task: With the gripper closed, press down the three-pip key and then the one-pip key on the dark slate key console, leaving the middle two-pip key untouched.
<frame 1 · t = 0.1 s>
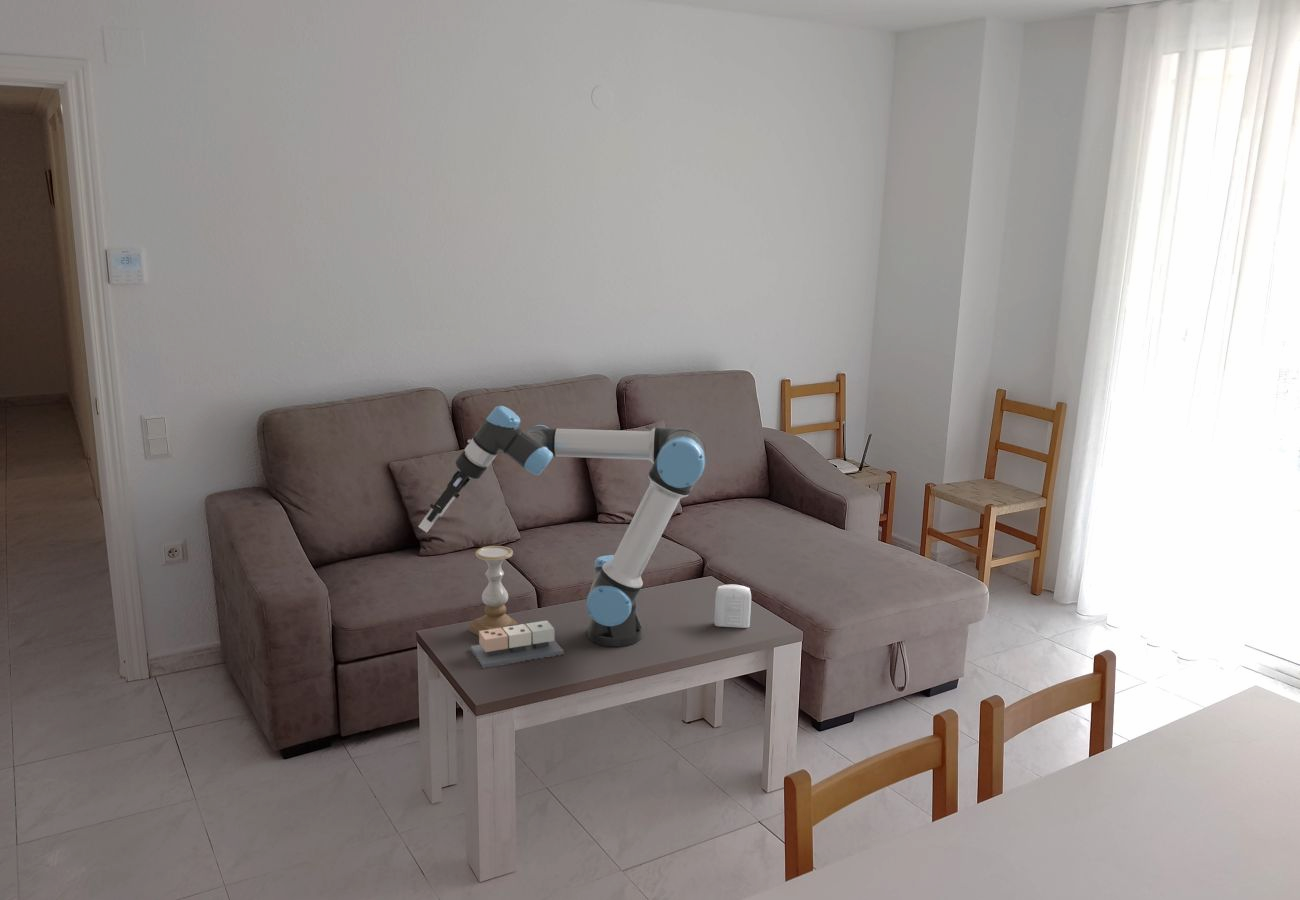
hand: (430, 521, 267), 36 cm above the table, tool tilted 35°, fingers open, 13 cm apart
console: (517, 652, 274), on the table
photo printer: (732, 626, 294), on the table
three pip key: (493, 639, 270), point 5 cm above the table, slide at 0.0 cm
one pip key: (540, 631, 275), point 5 cm above the table, slide at 0.0 cm
candle holder: (495, 633, 286), on the table
two pip key: (516, 635, 272), point 5 cm above the table, slide at 0.0 cm
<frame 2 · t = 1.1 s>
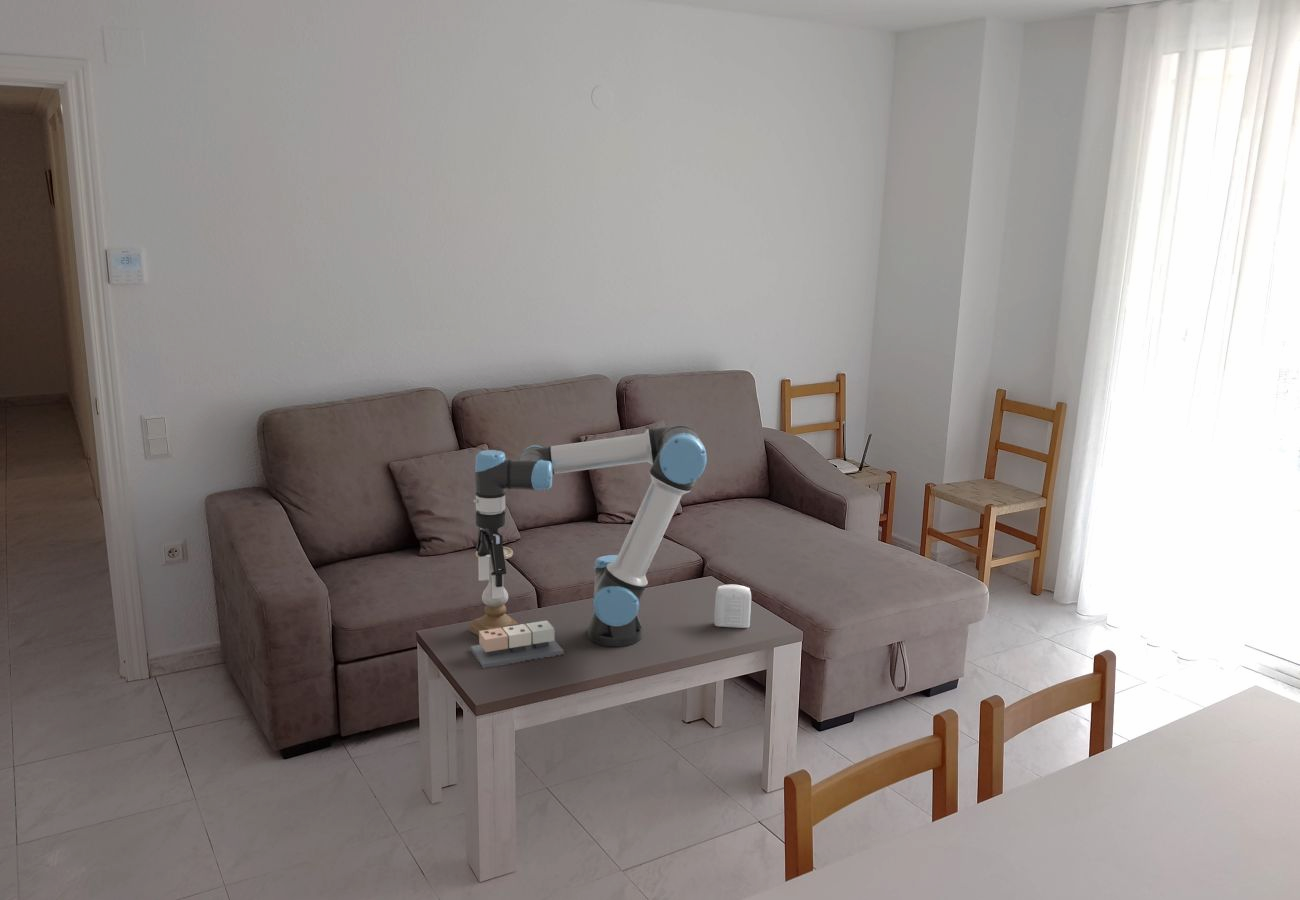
hand: (490, 588, 267), 19 cm above the table, tool pointing down, fingers open, 13 cm apart
nothing on the table moved.
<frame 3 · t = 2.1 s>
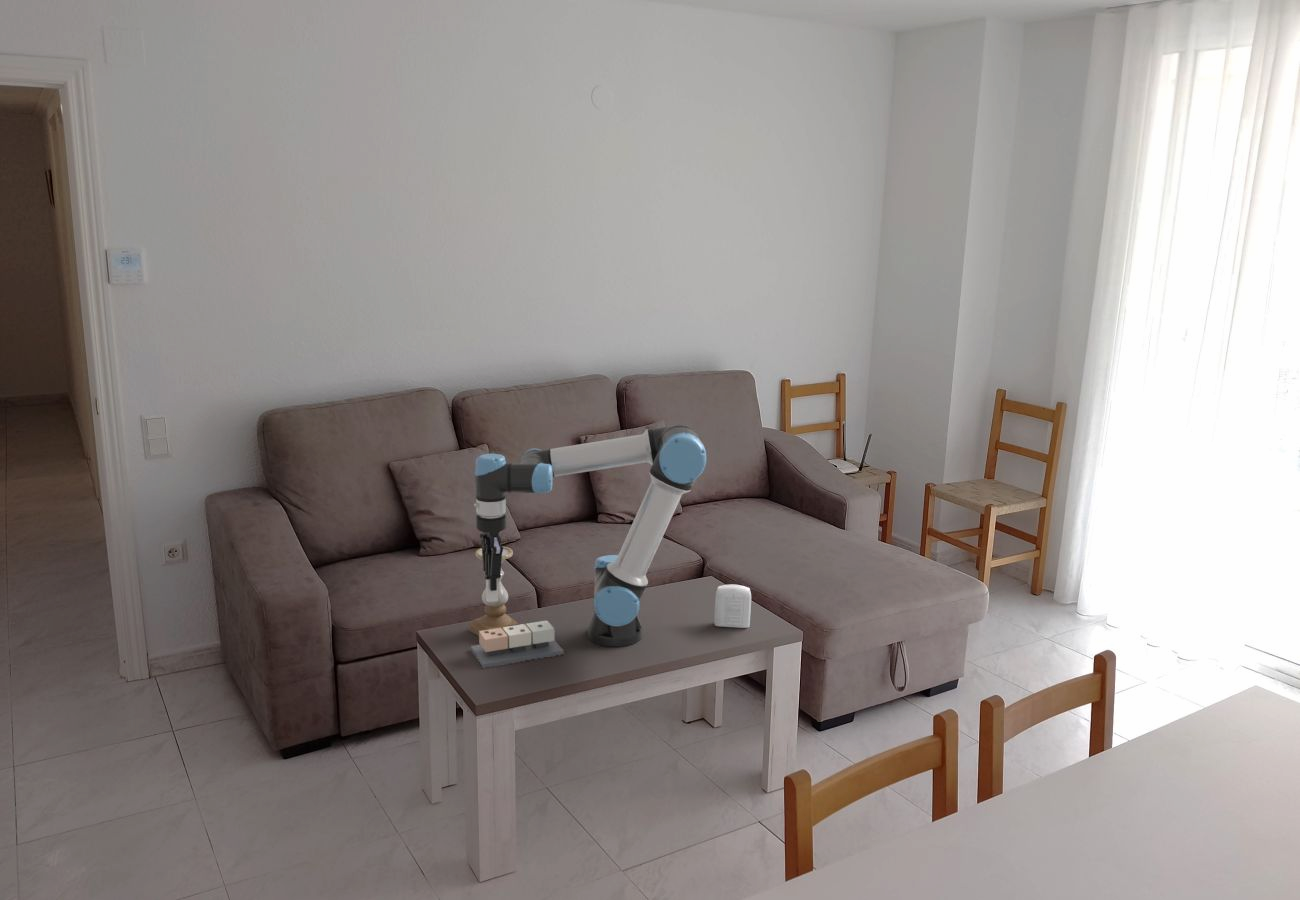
hand: (492, 600, 267), 16 cm above the table, tool pointing down, fingers closed
nothing on the table moved.
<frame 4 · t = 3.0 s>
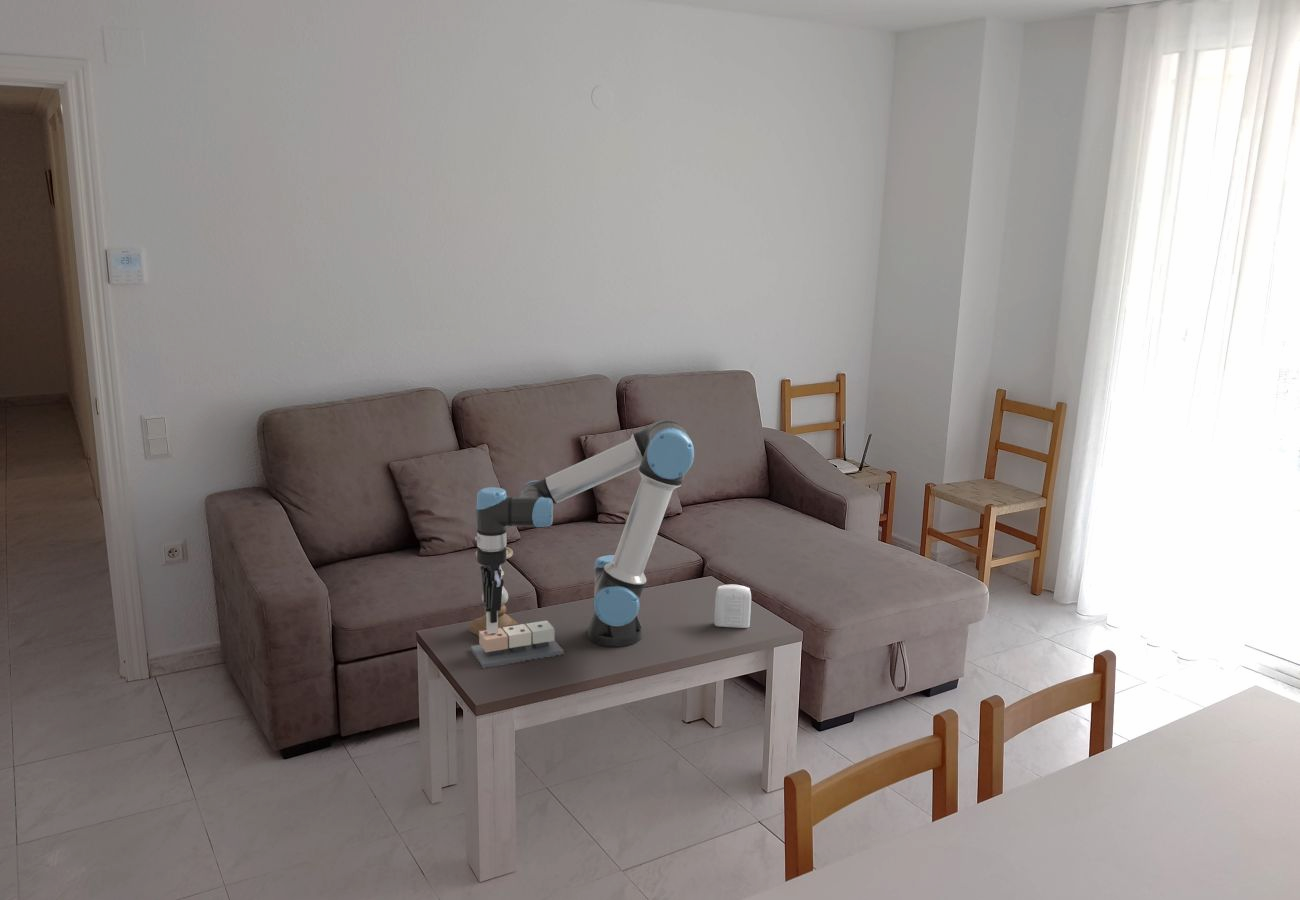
hand: (492, 632, 269), 7 cm above the table, tool pointing down, fingers closed
three pip key: (493, 639, 270), point 5 cm above the table, slide at -0.1 cm, touching gripper
everything else where it was.
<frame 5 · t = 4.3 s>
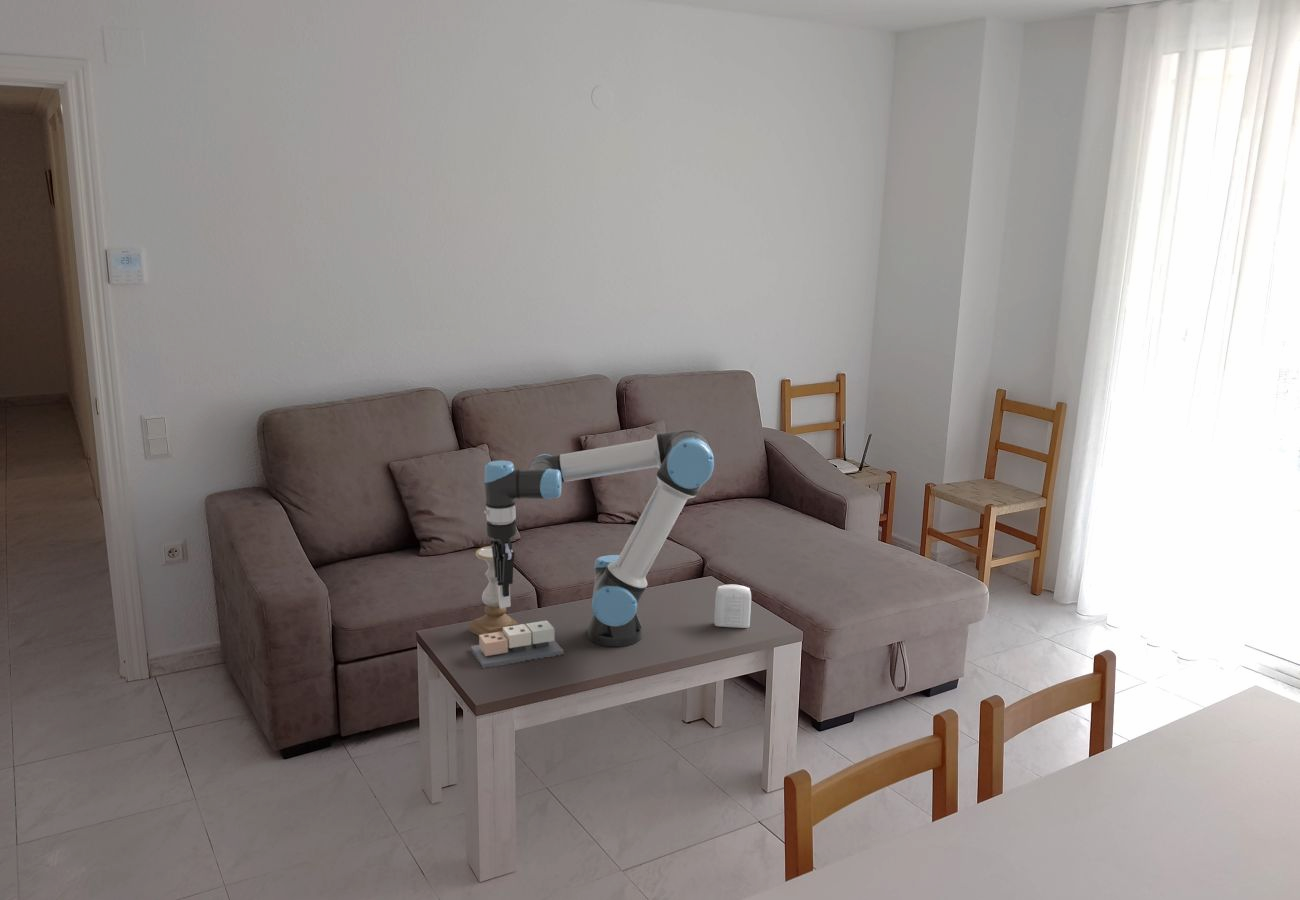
hand: (504, 606, 269), 14 cm above the table, tool pointing down, fingers closed
three pip key: (493, 643, 270), point 4 cm above the table, slide at -1.1 cm
everything else where it was.
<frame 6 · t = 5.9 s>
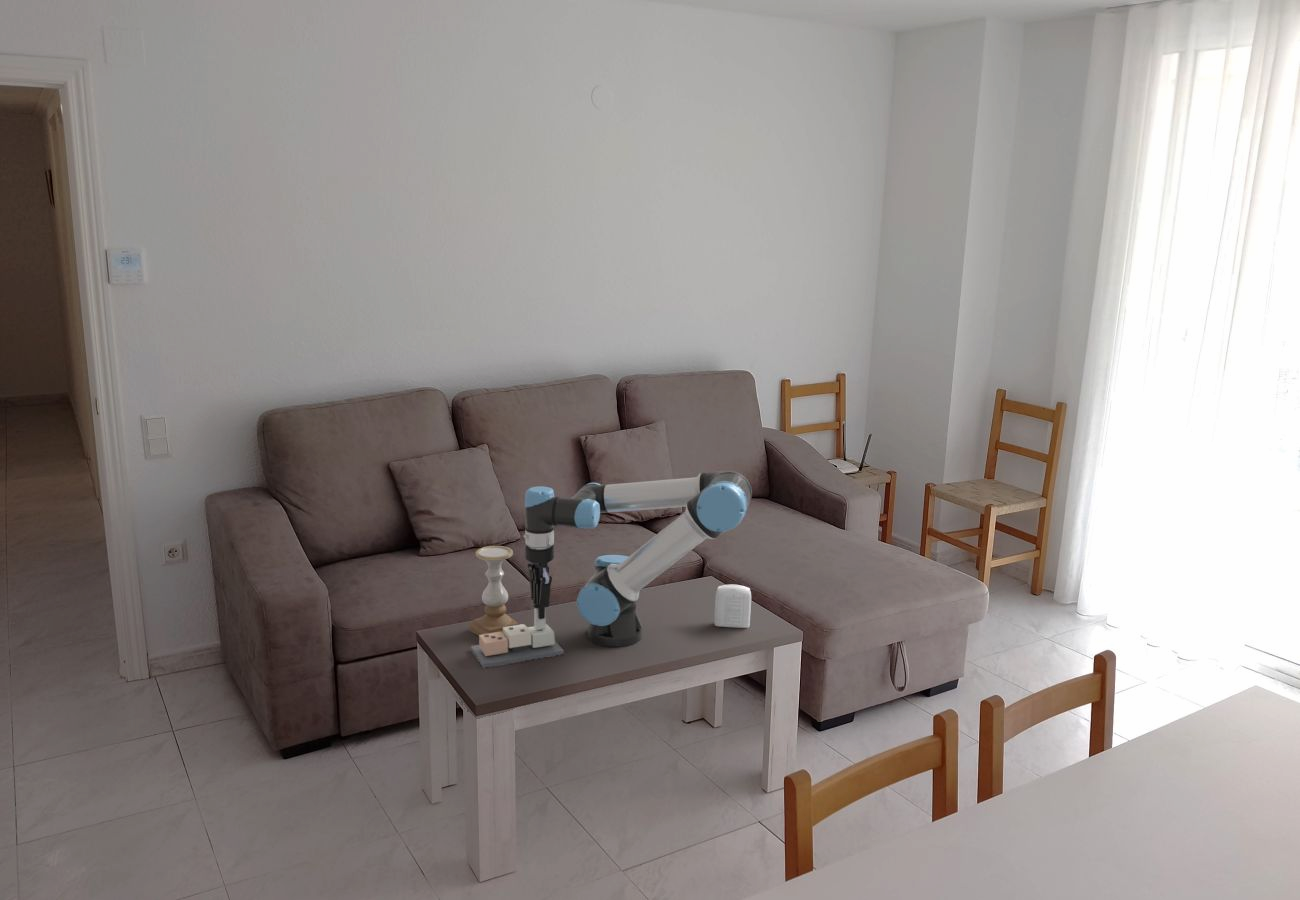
hand: (539, 628, 275), 6 cm above the table, tool pointing down, fingers closed
one pip key: (540, 635, 275), point 4 cm above the table, slide at -1.1 cm, touching gripper
everything else where it was.
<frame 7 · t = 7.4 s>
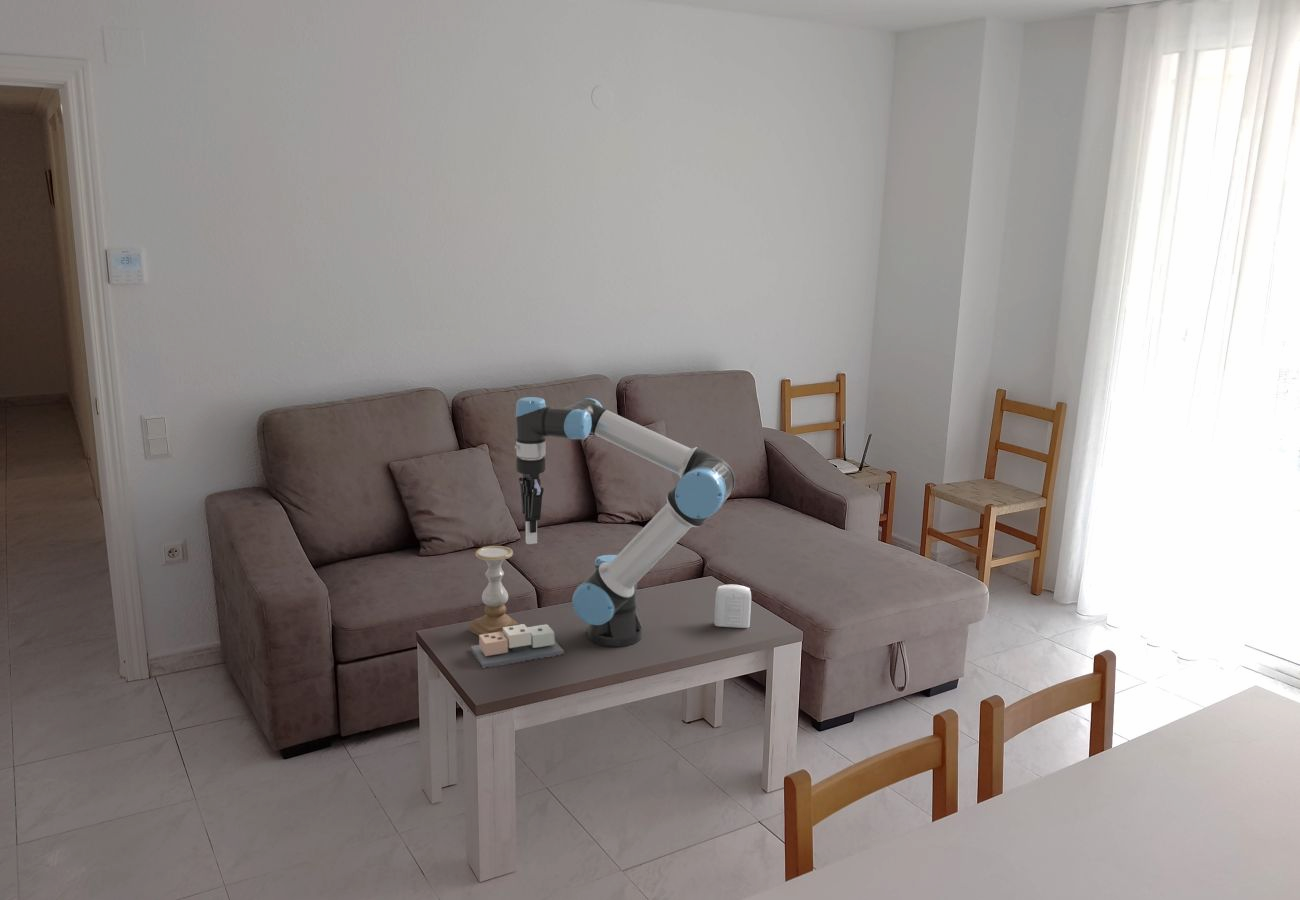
hand: (531, 542, 271), 29 cm above the table, tool pointing down, fingers closed
one pip key: (540, 635, 275), point 4 cm above the table, slide at -1.1 cm
everything else where it was.
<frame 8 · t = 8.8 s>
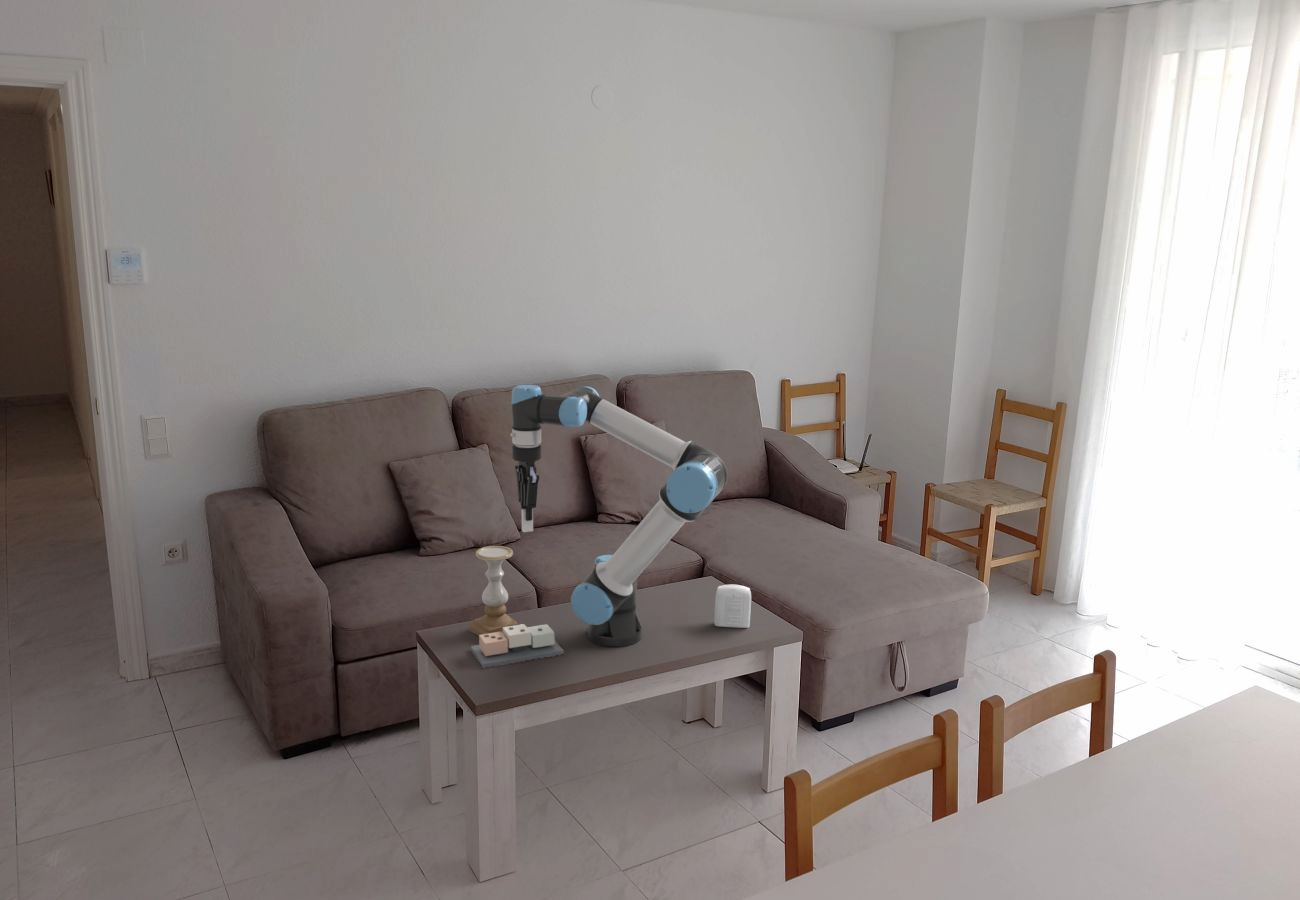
hand: (527, 530, 271), 32 cm above the table, tool pointing down, fingers closed
nothing on the table moved.
at the end: three pip key slide at -1.1 cm; one pip key slide at -1.1 cm; two pip key slide at 0.0 cm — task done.
